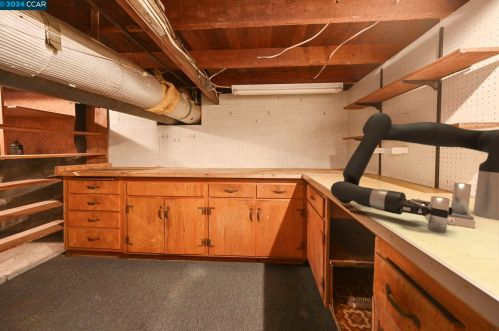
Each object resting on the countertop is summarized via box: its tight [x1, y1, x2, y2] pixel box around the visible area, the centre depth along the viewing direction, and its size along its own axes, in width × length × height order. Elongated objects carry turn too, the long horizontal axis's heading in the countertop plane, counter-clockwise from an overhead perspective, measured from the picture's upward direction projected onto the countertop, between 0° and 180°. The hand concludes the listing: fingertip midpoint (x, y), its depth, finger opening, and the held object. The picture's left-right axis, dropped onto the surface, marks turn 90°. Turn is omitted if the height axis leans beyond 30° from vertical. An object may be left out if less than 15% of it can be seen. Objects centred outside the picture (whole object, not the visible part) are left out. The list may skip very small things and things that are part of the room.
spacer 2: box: [450, 182, 472, 215], centre depth 80 cm, size 4×4×10 cm
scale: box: [424, 205, 477, 229], centre depth 83 cm, size 12×12×3 cm
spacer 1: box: [427, 195, 451, 234], centre depth 71 cm, size 4×4×10 cm
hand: (449, 212), depth 69 cm, fingers open, 5 cm apart
